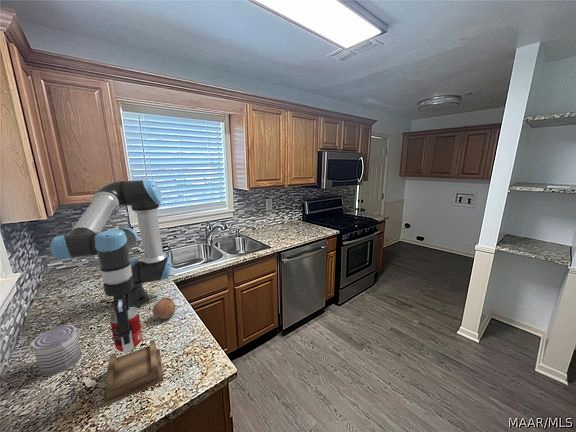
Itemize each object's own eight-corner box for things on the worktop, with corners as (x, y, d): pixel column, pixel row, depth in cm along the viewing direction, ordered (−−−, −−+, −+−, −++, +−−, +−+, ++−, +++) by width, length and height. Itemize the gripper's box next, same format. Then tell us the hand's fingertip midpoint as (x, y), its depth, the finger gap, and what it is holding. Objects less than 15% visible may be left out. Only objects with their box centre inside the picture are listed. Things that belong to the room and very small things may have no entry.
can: (87, 347, 92) (81, 321, 90) (74, 370, 82) (66, 340, 80) (50, 356, 88) (42, 329, 86) (31, 381, 78) (22, 350, 76)
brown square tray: (108, 368, 82) (105, 354, 81) (159, 349, 91) (157, 336, 89) (103, 406, 69) (99, 390, 68) (163, 380, 77) (161, 365, 76)
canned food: (138, 331, 83) (133, 303, 80) (146, 341, 78) (142, 312, 75) (112, 344, 77) (106, 314, 75) (119, 356, 72) (113, 324, 70)
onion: (170, 317, 115) (173, 296, 118) (175, 321, 108) (179, 298, 111) (148, 318, 109) (153, 296, 112) (153, 322, 102) (158, 298, 105)
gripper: (106, 270, 79) (117, 329, 84) (98, 298, 62) (112, 369, 67) (132, 265, 83) (142, 321, 88) (131, 290, 66) (143, 358, 71)
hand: (129, 342), depth 77 cm, fingers closed on canned food, 8 cm apart
